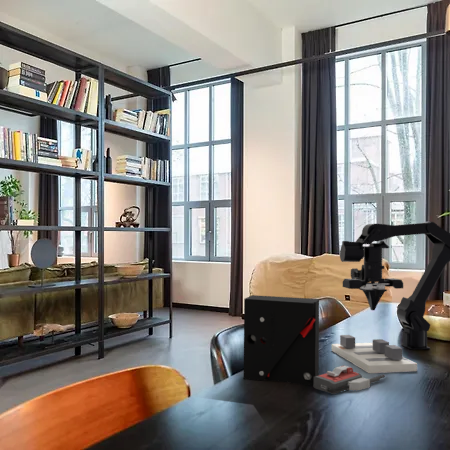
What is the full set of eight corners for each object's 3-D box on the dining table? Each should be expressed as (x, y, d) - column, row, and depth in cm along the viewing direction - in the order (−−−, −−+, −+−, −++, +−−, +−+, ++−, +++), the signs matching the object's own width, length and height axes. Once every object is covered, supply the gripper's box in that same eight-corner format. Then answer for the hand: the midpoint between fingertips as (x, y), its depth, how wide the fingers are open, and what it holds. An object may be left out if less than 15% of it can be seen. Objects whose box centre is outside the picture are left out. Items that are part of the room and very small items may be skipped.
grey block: (381, 349, 136) (381, 339, 136) (389, 352, 132) (389, 342, 132) (372, 349, 135) (372, 339, 135) (379, 353, 131) (379, 342, 132)
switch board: (372, 348, 146) (372, 342, 146) (417, 371, 123) (417, 363, 123) (331, 350, 144) (331, 343, 144) (368, 373, 120) (368, 365, 120)
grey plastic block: (349, 344, 142) (349, 334, 142) (355, 347, 138) (355, 337, 138) (340, 344, 141) (340, 335, 141) (345, 348, 137) (345, 337, 137)
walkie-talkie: (338, 400, 101) (388, 382, 114) (338, 380, 101) (388, 365, 114) (307, 389, 108) (358, 374, 121) (307, 370, 108) (358, 357, 121)
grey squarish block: (394, 355, 129) (394, 344, 129) (402, 359, 125) (402, 348, 125) (384, 355, 129) (384, 345, 129) (392, 359, 125) (392, 348, 125)
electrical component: (319, 376, 117) (320, 297, 118) (314, 388, 108) (314, 303, 108) (253, 368, 123) (254, 294, 124) (242, 379, 113) (243, 299, 114)
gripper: (386, 260, 158) (386, 306, 158) (335, 260, 155) (335, 306, 155) (404, 262, 148) (404, 311, 147) (350, 262, 144) (350, 312, 144)
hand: (372, 310), depth 149 cm, fingers closed
